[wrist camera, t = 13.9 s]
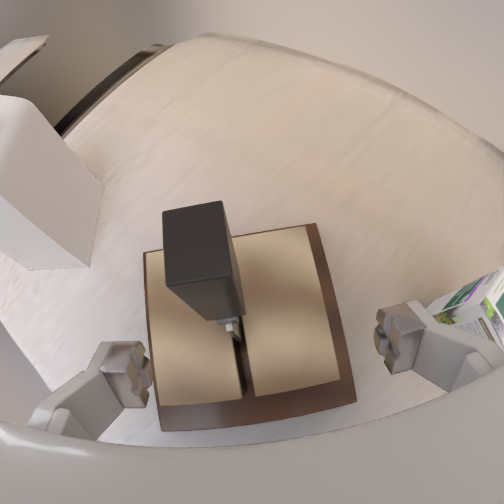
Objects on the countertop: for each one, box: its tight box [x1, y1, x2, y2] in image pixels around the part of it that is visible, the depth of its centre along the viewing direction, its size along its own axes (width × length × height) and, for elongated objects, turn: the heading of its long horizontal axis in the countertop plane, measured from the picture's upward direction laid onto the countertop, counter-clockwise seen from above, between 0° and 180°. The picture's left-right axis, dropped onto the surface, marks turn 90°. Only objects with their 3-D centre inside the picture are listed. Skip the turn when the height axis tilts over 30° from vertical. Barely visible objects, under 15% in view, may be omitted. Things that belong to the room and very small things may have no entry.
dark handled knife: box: [162, 201, 246, 342], centre depth 16 cm, size 4×2×15 cm, turn 9°
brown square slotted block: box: [143, 223, 357, 431], centre depth 26 cm, size 20×20×8 cm
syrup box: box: [424, 265, 504, 351], centre depth 22 cm, size 6×6×14 cm
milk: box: [0, 95, 104, 271], centre depth 23 cm, size 12×12×26 cm
